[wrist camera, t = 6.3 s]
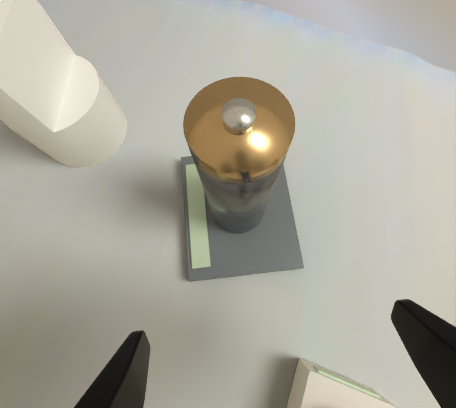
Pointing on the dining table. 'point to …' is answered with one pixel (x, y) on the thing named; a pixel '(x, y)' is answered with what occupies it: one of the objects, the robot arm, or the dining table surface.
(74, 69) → the base with upright slab
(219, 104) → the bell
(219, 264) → the grey flat panel
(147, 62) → the dining table surface
